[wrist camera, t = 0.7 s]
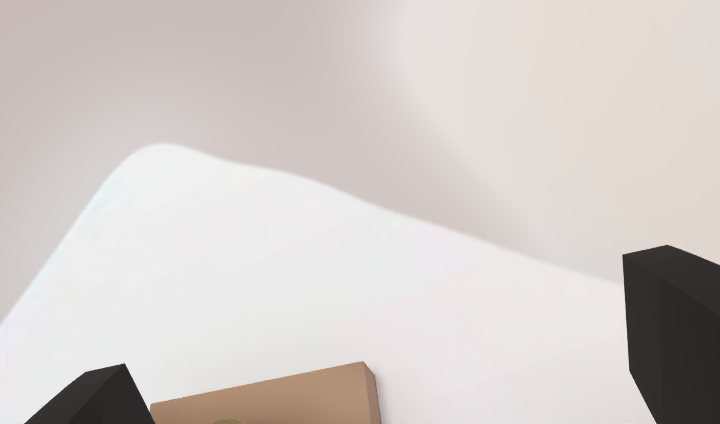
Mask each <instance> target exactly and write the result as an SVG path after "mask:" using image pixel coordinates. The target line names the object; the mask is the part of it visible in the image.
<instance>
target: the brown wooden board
mask: <svg viewBox="0 0 720 424" xmlns="http://www.w3.org/2000/svg"><path fill="white" fill-rule="evenodd" d="M150 414H151V416H152V418H153V420H154V422H155V424H213V423H215V422H217V421H219V420H223V419H232V420H236V421H238V422H240V423H242V424H381V420H380V413H379V406H378V398H377V391H376V384H375V377H374V374H373V373H372V372H371V370H370V369H369V368H368V367H367V365H366V364H365V363H364V362H363V361H361V362H356V363H352V364H347V365H342V366H337V367H332V368H327V369H322V370H317V371H312V372H307V373H302V374H297V375H292V376H287V377H282V378H277V379H272V380H267V381H262V382H257V383H252V384H247V385H243V386H238V387H233V388H228V389H223V390H218V391H213V392H208V393H203V394H198V395H193V396H188V397H183V398H178V399H173V400H168V401H163V402H158V403H153V404H151V406H150Z"/></svg>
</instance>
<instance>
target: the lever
mask: <svg viewBox="0 0 720 424" xmlns="http://www.w3.org/2000/svg"><path fill="white" fill-rule="evenodd" d="M213 424H242V423H240V422H238V421H236V420H232V419H223V420H219V421H217V422H215V423H213Z"/></svg>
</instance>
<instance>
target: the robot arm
mask: <svg viewBox="0 0 720 424" xmlns="http://www.w3.org/2000/svg"><path fill="white" fill-rule="evenodd" d="M623 273H624V290H625V306H626V323H627V340H628V356H629V371H630V373H631V375H632V377H633V379H634V381H635V383H636V385H637V387H638V389H639V391H640V393H641V395H642V397H643V399H644V401H645V402H646V404H647V406H648V408H649V410H650V412H651V414H652V416H653V418H654V419H655V421H656V423H657V424H720V265H718V264H715V263H713V262H711V261H708V260H706V259H703V258H701V257H699V256H696V255H693V254H691V253H688V252H686V251H683V250H681V249H678V248H675V247H672V246H669V245H665V246H660V247H656V248H651V249H647V250H642V251H637V252H633V253H628V254H623ZM24 424H155V422H154V420H153V418H152V416H151V414H150V412H149V410H148V408H147V406H146V404H145V402H144V400H143V398H142V396H141V394H140V392H139V390H138V388H137V386H136V384H135V383H134V381H133V379H132V377H131V375H130V373H129V371H128V369H127V367H126V365H125V363H124V364H120V365H115V366H111V367H106V368H102V369H97V370H92V371H88V372H85V373H84V374H82V375H81V376H80V377H78V378H77V379H76V380H74V381H73V382H72V383H70V384H69V385H68V386H67V387H66V388H64V389H63V390H62V391H61V392H60V393H58V394H57V395H56V396H55V397H54V398H53V399H51V400H50V401H49V402H48V403H47V404H46V405H45V406H43V407H42V408H41V409H40V410H39V411H38V412H37V413H36V414H34V415H33V416H32V417H31V418H30V419H29V420H28V421H27V422H26V423H24Z"/></svg>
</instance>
